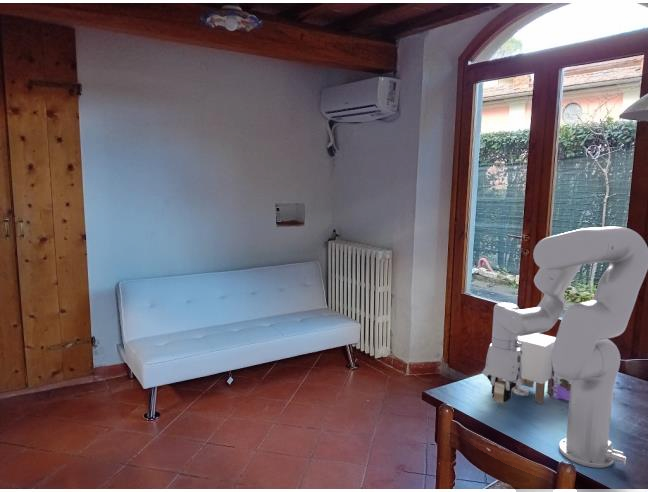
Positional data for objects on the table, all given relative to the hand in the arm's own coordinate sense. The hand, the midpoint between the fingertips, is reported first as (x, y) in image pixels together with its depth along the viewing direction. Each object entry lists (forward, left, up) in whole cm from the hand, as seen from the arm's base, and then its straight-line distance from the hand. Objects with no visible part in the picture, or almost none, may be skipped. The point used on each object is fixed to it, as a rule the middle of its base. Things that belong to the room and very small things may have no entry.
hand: (501, 398), depth 152 cm
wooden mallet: (0, -8, -1) cm, 8 cm away
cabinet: (0, -17, -3) cm, 18 cm away
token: (0, -14, -3) cm, 15 cm away
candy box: (-15, -21, -3) cm, 26 cm away
